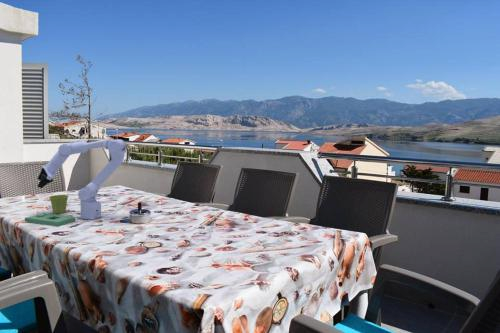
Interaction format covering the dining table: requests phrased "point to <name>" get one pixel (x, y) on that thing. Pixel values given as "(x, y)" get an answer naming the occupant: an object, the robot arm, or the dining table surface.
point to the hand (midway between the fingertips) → (39, 183)
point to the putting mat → (50, 219)
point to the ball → (40, 212)
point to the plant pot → (59, 203)
